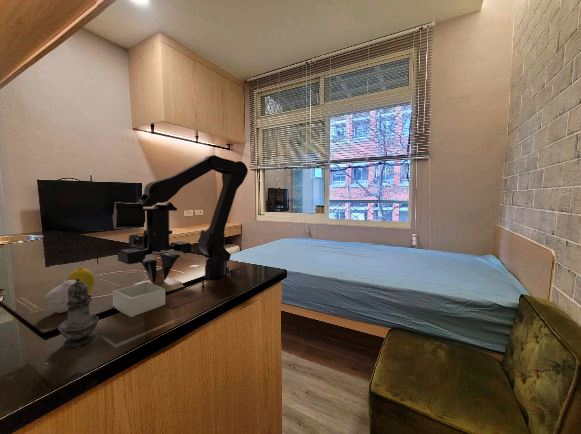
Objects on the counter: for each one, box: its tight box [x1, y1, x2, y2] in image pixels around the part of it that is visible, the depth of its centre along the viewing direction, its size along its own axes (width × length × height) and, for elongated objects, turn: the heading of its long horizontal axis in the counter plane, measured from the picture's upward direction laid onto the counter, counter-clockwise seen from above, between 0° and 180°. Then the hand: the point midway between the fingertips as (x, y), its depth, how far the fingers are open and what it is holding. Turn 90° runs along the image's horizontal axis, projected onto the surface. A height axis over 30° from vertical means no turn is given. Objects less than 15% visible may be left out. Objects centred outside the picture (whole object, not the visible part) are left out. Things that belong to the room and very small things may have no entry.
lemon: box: [66, 266, 96, 294], centre depth 66 cm, size 6×6×8 cm
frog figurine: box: [44, 280, 76, 314], centre depth 59 cm, size 6×7×7 cm
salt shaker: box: [57, 278, 100, 350], centre depth 47 cm, size 6×6×12 cm
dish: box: [112, 282, 166, 318], centre depth 62 cm, size 8×8×4 cm
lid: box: [133, 267, 183, 293], centre depth 74 cm, size 9×9×5 cm
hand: (158, 281), depth 74 cm, fingers closed on lid, 3 cm apart
